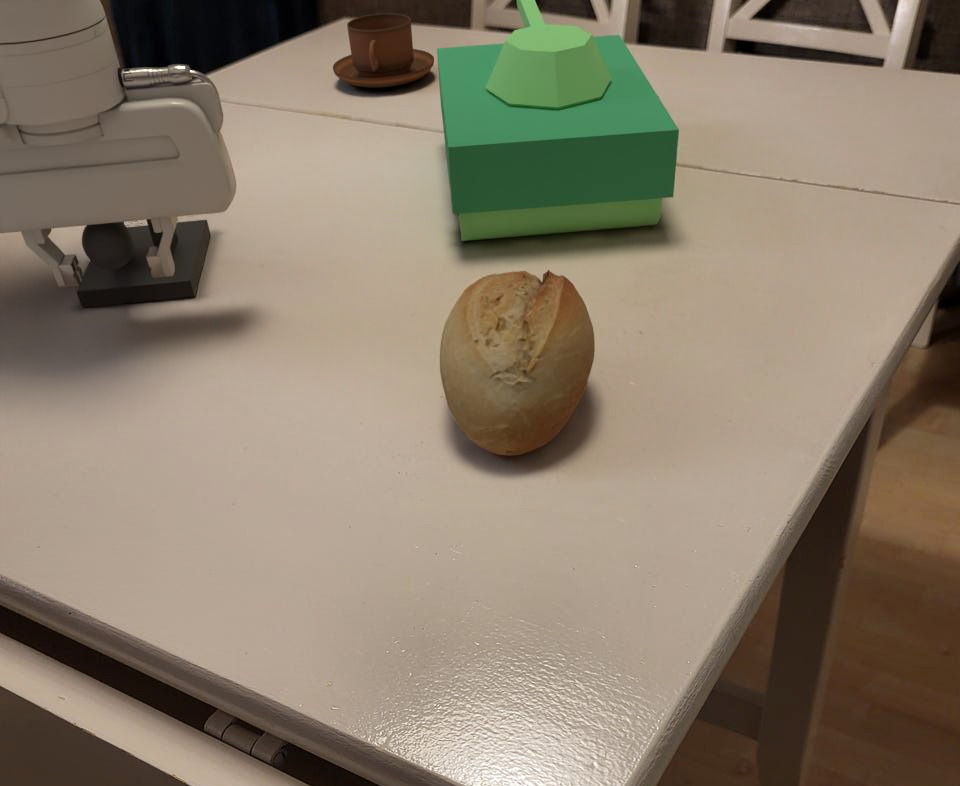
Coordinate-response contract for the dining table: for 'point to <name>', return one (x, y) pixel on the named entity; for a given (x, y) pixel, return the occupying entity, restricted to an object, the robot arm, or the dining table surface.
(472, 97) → the toy tank
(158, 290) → the stand with upright posts
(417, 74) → the cup and saucer
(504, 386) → the bread roll
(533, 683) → the dining table surface
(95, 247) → the pendulum
